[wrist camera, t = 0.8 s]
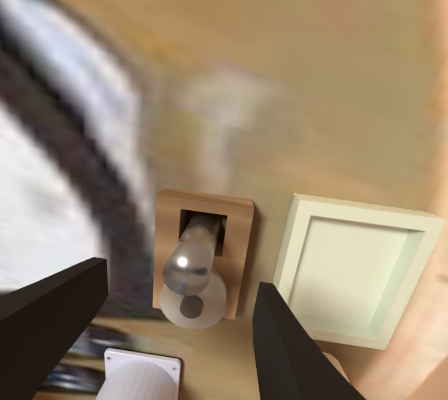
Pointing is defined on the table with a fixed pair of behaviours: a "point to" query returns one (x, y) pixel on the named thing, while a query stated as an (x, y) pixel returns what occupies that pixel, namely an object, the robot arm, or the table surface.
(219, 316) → the block
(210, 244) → the pin
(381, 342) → the tray
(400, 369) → the table surface
